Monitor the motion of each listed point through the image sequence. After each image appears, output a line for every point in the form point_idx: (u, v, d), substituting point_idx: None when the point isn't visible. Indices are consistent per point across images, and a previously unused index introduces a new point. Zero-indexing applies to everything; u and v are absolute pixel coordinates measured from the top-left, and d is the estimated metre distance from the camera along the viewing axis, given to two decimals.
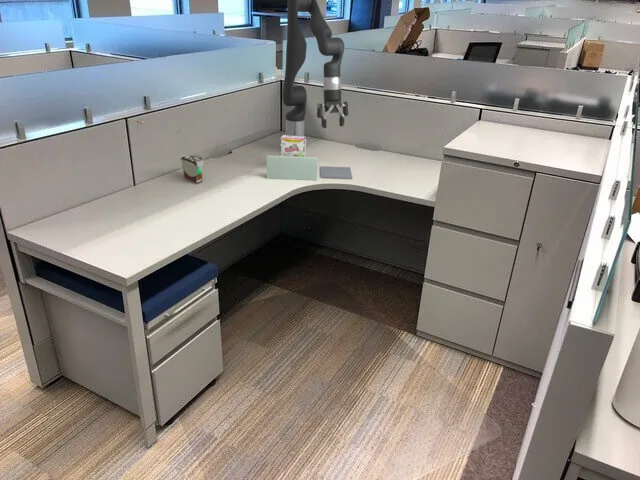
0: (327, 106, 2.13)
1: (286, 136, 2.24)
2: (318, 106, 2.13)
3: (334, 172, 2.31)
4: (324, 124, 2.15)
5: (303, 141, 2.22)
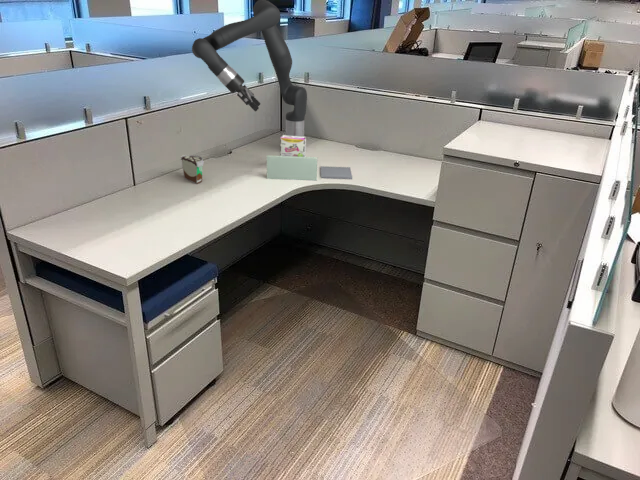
0: None
1: (286, 136, 2.24)
2: None
3: (334, 172, 2.31)
4: (255, 103, 2.22)
5: (303, 141, 2.22)
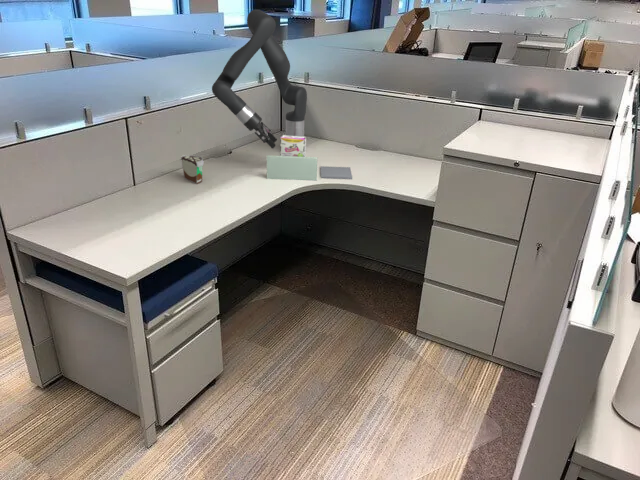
0: None
1: (286, 136, 2.24)
2: None
3: (334, 172, 2.31)
4: (272, 139, 2.29)
5: (303, 141, 2.22)
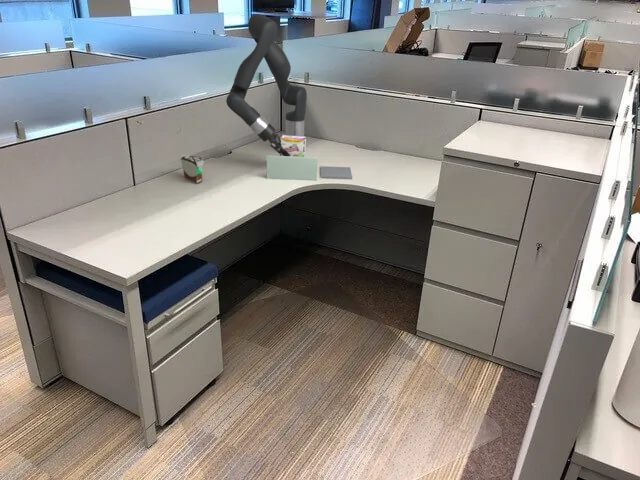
0: None
1: (286, 136, 2.24)
2: None
3: (334, 172, 2.31)
4: None
5: (303, 141, 2.22)
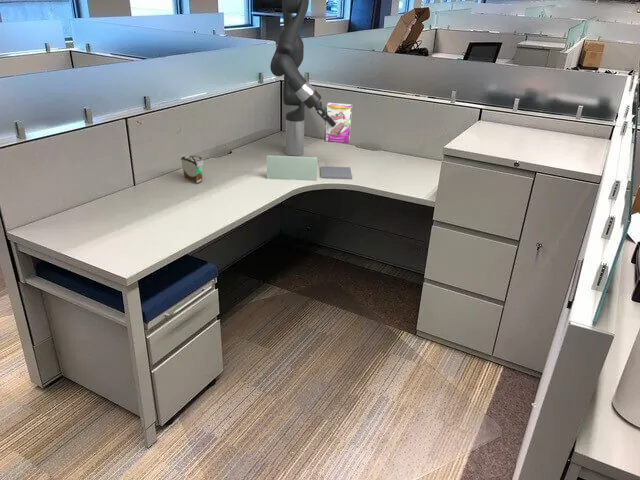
0: None
1: (332, 103, 2.18)
2: None
3: (334, 172, 2.31)
4: None
5: (350, 109, 2.15)
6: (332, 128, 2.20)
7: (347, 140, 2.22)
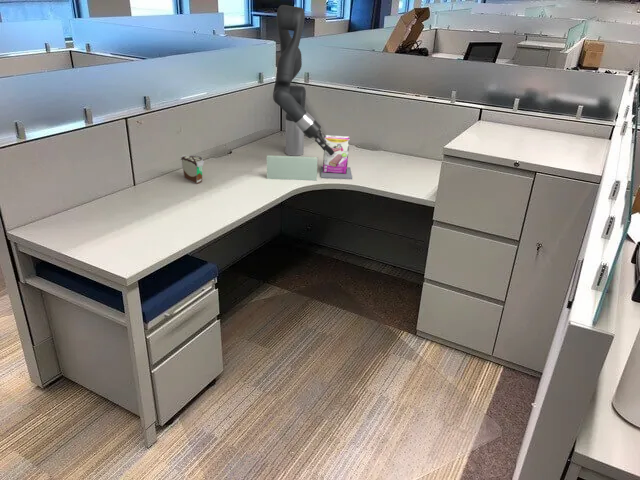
0: None
1: (330, 136, 2.24)
2: None
3: None
4: None
5: (348, 141, 2.22)
6: (330, 159, 2.27)
7: (345, 170, 2.29)
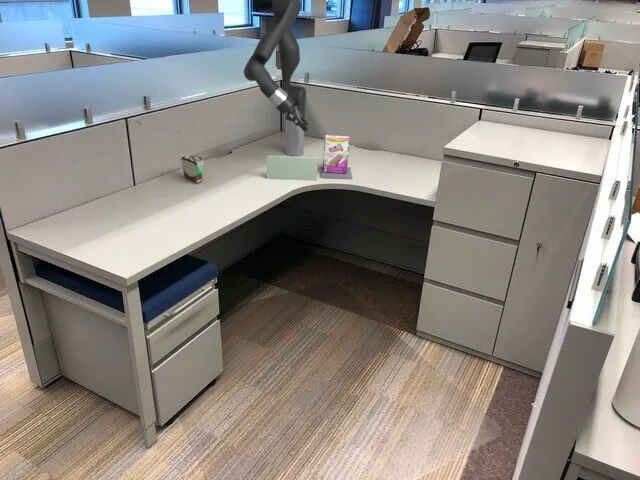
0: None
1: (330, 136, 2.24)
2: None
3: None
4: (303, 123, 2.26)
5: (348, 141, 2.22)
6: (330, 159, 2.27)
7: (345, 170, 2.29)
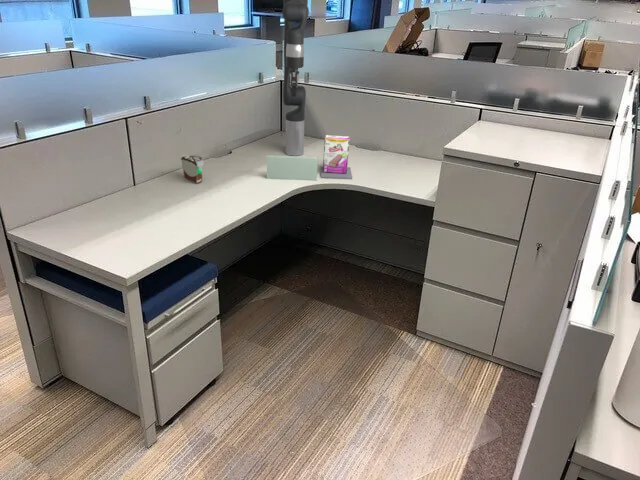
0: None
1: (330, 136, 2.24)
2: None
3: None
4: None
5: (348, 141, 2.22)
6: (330, 159, 2.27)
7: (345, 170, 2.29)
